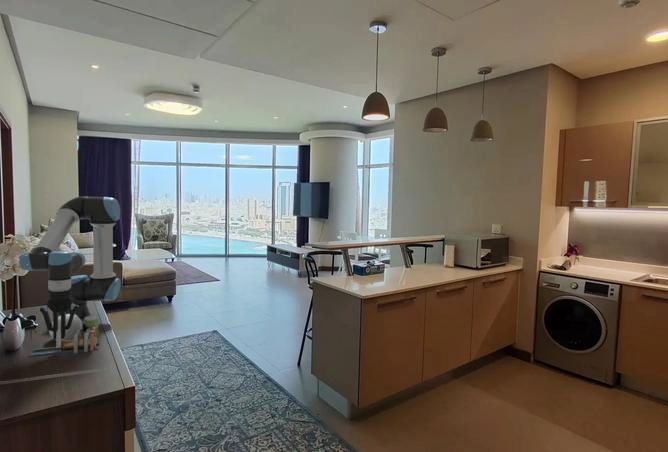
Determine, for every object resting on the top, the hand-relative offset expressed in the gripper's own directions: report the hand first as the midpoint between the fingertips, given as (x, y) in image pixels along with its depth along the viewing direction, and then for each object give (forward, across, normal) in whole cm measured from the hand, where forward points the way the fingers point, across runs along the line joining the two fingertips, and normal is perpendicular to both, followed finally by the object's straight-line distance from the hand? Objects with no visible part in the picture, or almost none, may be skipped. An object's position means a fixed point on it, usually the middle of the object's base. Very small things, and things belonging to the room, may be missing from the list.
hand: (59, 346), depth 153 cm
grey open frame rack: (+3, +2, 0) cm, 4 cm away
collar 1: (+3, +6, 0) cm, 7 cm away
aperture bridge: (+3, +12, 0) cm, 12 cm away
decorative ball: (+3, 0, +15) cm, 15 cm away
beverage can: (+3, +10, +9) cm, 14 cm away
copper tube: (+2, +7, 0) cm, 7 cm away
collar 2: (+3, +10, 0) cm, 10 cm away
